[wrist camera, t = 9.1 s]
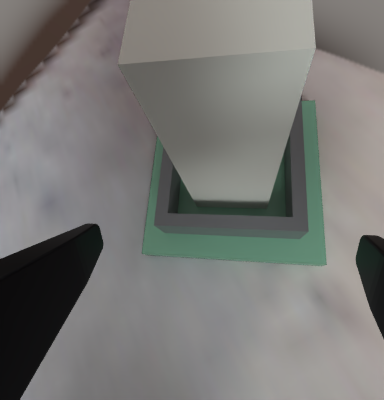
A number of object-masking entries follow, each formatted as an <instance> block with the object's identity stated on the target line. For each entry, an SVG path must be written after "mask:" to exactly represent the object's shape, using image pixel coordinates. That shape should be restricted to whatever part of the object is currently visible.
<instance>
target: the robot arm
mask: <svg viewBox="0 0 384 400" xmlns="http://www.w3.org/2000/svg"><path fill="white" fill-rule="evenodd" d="M102 249H103V239H102V235H101V231H100V228H99V226H98V225H97V224H85V225H82V226H80V227H77V228H75V229H72V230H70V231H67V232H65V233H63V234H60V235H58V236H55V237H53V238H50V239H48V240H45V241H43V242H41V243H38V244H36V245H33V246H31V247H28V248H26V249H24V250H21V251H19V252H16V253H14V254H11V255H9V256H6V257H4V258H2V259H0V400H20V398H21V397H22V395H23V393H24V392H25V390H26V388H27V386H28V385H29V383H30V381H31V379H32V378H33V376H34V374H35V372H36V371H37V369H38V367H39V366H40V364H41V362H42V360H43V359H44V357H45V355H46V353H47V352H48V350H49V348H50V347H51V345H52V343H53V341H54V340H55V338H56V336H57V334H58V333H59V331H60V329H61V327H62V326H63V324H64V322H65V321H66V319H67V317H68V315H69V314H70V312H71V310H72V308H73V307H74V305H75V303H76V302H77V300H78V298H79V296H80V295H81V293H82V291H83V289H84V288H85V286H86V284H87V282H88V280H89V278H90V276H91V274H92V271H93V269H94V267H95V265H96V262H97V260H98V258H99V256H100V253H101V251H102ZM356 264H357V268H358V271H359V274H360V278H361V281H362V284H363V287H364V291H365V294H366V297H367V300H368V303H369V306H370V309H371V311H372V314H373V316H374V318H375V321H376V323H377V325H378V327H379V330H380V332H381V334H382V336H383V339H384V239H383V238H381V237H379V236H376V235H363V236H362V237H361V239H360V242H359V246H358V250H357V255H356Z"/></svg>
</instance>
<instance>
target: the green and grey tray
mask: <svg viewBox="0 0 384 400" xmlns="http://www.w3.org/2000/svg"><path fill="white" fill-rule="evenodd" d="M142 254H145V255H154V256H170V257H186V258H202V259H218V260H234V261H250V262H266V263H282V264H298V265H314V266H324V265H327V264H326V250H325V236H324V221H323V207H322V193H321V179H320V165H319V150H318V136H317V122H316V108H315V100H314V101H302V96H301V98H300V101H299V104H298V108H297V111H296V114H295V118H294V121H293V124H292V127H291V131H290V134H289V137H288V141H287V144H286V147H285V150H284V154H283V157H282V160H281V163H280V167H279V170H278V173H277V177H276V180H275V183H274V186H273V190H272V193H271V196H270V200H269V203H268V206H267V209H263V208H223V207H197V206H196V204H195V202H194V201H193V199H192V197H191V195H190V193H189V192H188V190H187V188H186V186H185V184H184V183H183V181H182V179H181V177H180V175H179V174H178V172H177V170H176V168H175V167H174V165H173V163H172V161H171V159H170V158H169V156H168V154H167V152H166V150H165V149H164V147H163V145H162V143H161V141H160V140H159V138H158V136H157V142H156V149H155V157H154V164H153V172H152V180H151V187H150V195H149V202H148V210H147V217H146V225H145V233H144V240H143V248H142Z"/></svg>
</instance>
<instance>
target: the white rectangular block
mask: <svg viewBox="0 0 384 400" xmlns="http://www.w3.org/2000/svg"><path fill="white" fill-rule="evenodd" d="M315 49H316V46H315V33H314V20H313V7H312V0H130V5H129V10H128V15H127V20H126V25H125V30H124V35H123V40H122V45H121V50H120V55H119V60H118V66H119V68H120V70H121V72H122V73H123V75H124V77H125V79H126V81H127V82H128V84H129V86H130V88H131V89H132V91H133V93H134V95H135V97H136V98H137V100H138V102H139V104H140V106H141V107H142V109H143V111H144V113H145V115H146V116H147V118H148V120H149V122H150V124H151V125H152V127H153V129H154V131H155V132H156V134H157V136H158V138H159V140H160V141H161V143H162V145H163V147H164V149H165V150H166V152H167V154H168V156H169V158H170V159H171V161H172V163H173V165H174V167H175V168H176V170H177V172H178V174H179V175H180V177H181V179H182V181H183V183H184V184H185V186H186V188H187V190H188V192H189V193H190V195H191V197H192V199H193V201H194V202H195V204H196V206H197V207H223V208H263V209H267V206H268V203H269V200H270V196H271V193H272V190H273V186H274V183H275V180H276V177H277V173H278V170H279V167H280V163H281V160H282V157H283V154H284V150H285V147H286V144H287V141H288V137H289V134H290V131H291V127H292V124H293V121H294V118H295V114H296V111H297V108H298V104H299V101H300V98H301V95H302V91H303V88H304V85H305V82H306V78H307V75H308V72H309V68H310V65H311V62H312V59H313V55H314V52H315Z"/></svg>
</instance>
